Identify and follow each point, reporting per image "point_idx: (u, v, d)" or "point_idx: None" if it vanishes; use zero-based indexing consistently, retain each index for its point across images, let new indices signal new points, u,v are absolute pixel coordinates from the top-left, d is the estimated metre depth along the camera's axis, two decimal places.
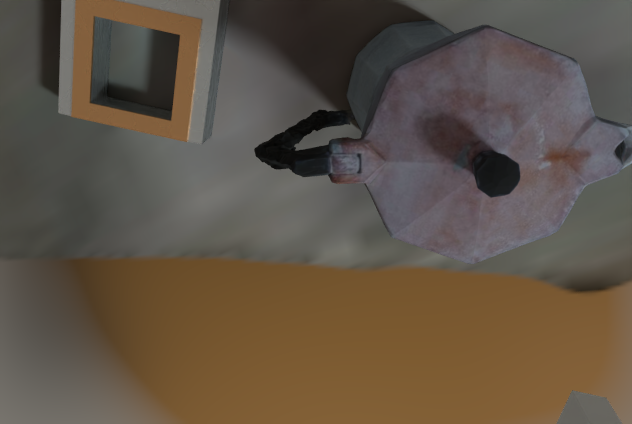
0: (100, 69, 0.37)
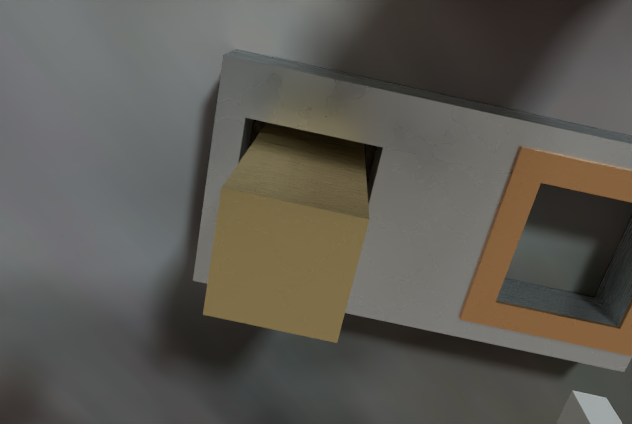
0: (562, 302, 0.25)
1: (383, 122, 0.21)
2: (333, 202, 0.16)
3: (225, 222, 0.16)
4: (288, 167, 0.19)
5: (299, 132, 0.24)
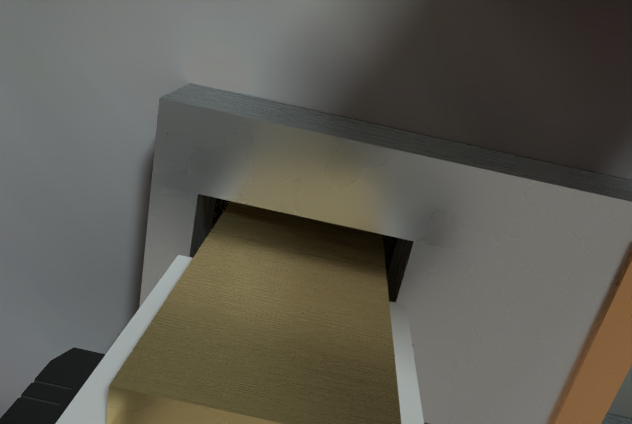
0: None
1: (415, 203, 0.13)
2: (332, 399, 0.09)
3: None
4: (257, 298, 0.11)
5: None
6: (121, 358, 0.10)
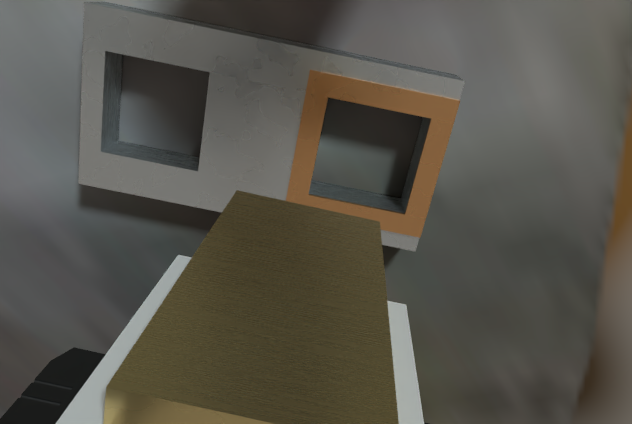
0: (367, 199, 0.32)
1: (207, 52, 0.28)
2: (329, 400, 0.09)
3: None
4: (255, 299, 0.11)
5: (283, 208, 0.16)
6: (121, 358, 0.10)
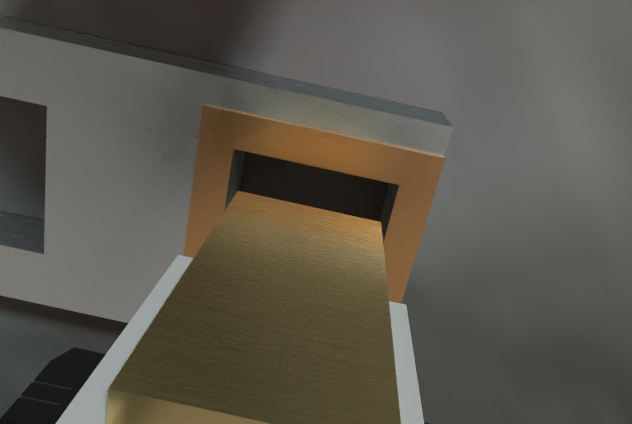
0: None
1: (39, 74, 0.18)
2: (331, 401, 0.09)
3: None
4: (257, 300, 0.11)
5: (284, 208, 0.16)
6: (121, 358, 0.10)
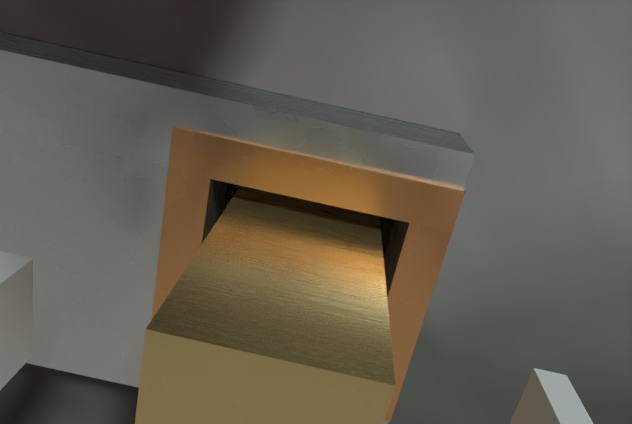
0: None
1: None
2: (334, 345, 0.10)
3: (154, 381, 0.10)
4: (267, 265, 0.12)
5: None
6: None
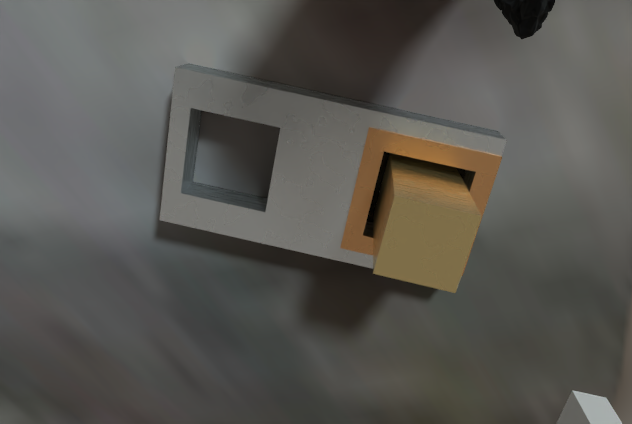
0: None
1: (279, 110, 0.32)
2: (457, 206, 0.27)
3: (394, 216, 0.27)
4: (421, 184, 0.30)
5: (413, 160, 0.35)
6: None
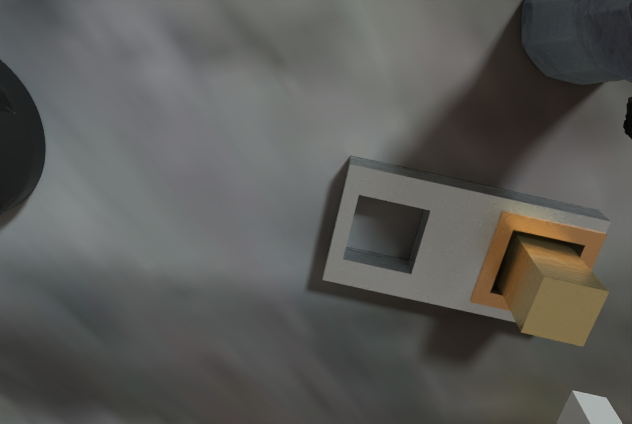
0: None
1: (431, 197, 0.41)
2: (588, 282, 0.36)
3: (542, 291, 0.36)
4: (552, 260, 0.39)
5: None
6: None
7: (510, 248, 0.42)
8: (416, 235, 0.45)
